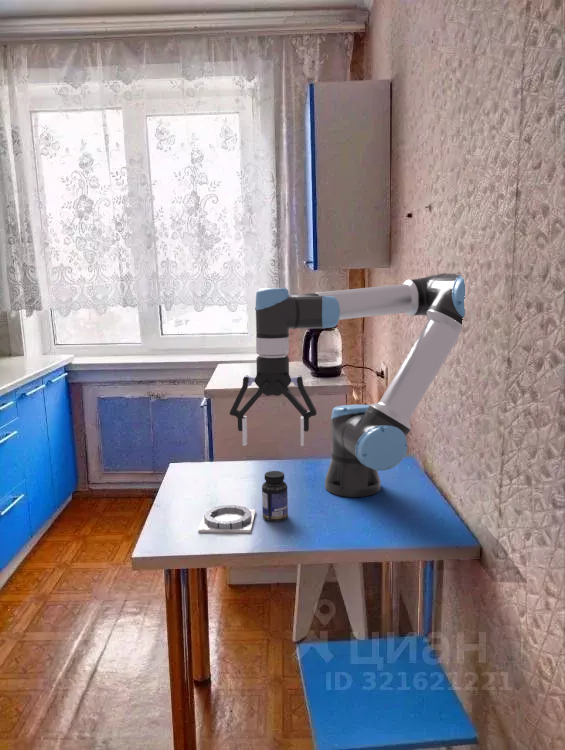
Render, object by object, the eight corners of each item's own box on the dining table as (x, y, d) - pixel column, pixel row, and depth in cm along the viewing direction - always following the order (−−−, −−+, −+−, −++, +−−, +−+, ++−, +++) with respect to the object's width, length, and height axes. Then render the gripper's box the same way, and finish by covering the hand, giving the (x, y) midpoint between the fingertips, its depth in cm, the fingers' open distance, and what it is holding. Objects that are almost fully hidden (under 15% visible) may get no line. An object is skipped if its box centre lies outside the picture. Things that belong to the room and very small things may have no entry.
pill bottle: (291, 514, 145) (290, 471, 144) (283, 524, 140) (282, 479, 138) (267, 511, 147) (266, 468, 146) (258, 520, 142) (257, 476, 140)
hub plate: (255, 512, 147) (255, 504, 146) (250, 533, 135) (250, 524, 135) (207, 511, 147) (207, 504, 147) (198, 532, 136) (197, 524, 135)
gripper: (326, 353, 140) (326, 440, 144) (221, 353, 141) (223, 439, 145) (327, 357, 133) (326, 449, 136) (216, 357, 134) (218, 448, 138)
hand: (273, 444), depth 141 cm, fingers open, 13 cm apart
